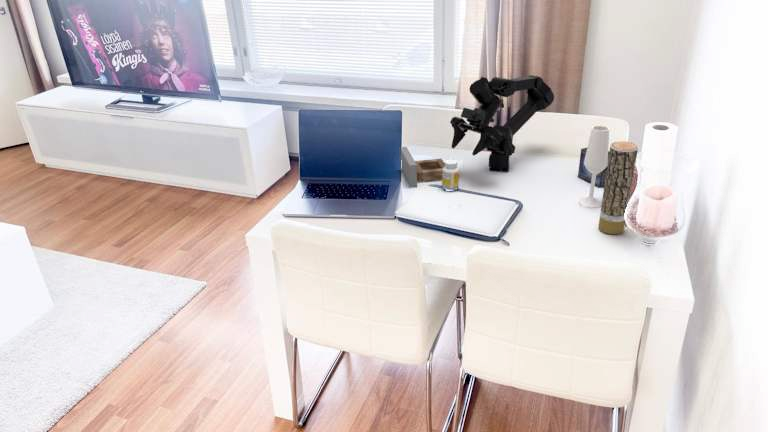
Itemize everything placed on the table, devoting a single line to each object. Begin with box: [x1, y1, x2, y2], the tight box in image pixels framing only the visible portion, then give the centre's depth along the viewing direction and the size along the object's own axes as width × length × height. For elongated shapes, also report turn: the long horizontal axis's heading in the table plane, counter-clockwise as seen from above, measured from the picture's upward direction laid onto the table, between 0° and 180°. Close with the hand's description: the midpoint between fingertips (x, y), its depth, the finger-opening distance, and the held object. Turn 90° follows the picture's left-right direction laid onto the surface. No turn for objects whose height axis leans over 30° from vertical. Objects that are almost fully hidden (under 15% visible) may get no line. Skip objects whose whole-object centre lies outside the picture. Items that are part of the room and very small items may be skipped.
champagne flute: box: [578, 125, 610, 208], centre depth 175 cm, size 7×7×24 cm
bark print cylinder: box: [598, 140, 639, 235], centre depth 159 cm, size 7×7×25 cm
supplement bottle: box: [441, 159, 460, 189], centre depth 191 cm, size 5×5×10 cm
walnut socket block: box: [414, 158, 445, 184], centre depth 203 cm, size 11×11×4 cm
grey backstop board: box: [401, 146, 418, 188], centre depth 201 cm, size 2×18×8 cm, turn 9°
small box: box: [577, 147, 610, 189], centre depth 193 cm, size 11×6×10 cm, turn 25°
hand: (462, 151), depth 191 cm, fingers open, 9 cm apart
